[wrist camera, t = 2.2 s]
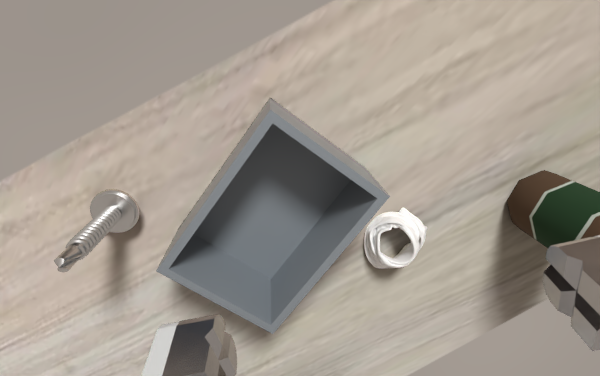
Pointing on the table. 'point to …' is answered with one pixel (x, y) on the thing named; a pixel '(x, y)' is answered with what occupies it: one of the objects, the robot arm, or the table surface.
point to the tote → (272, 220)
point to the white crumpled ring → (385, 223)
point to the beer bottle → (554, 209)
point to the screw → (100, 225)
